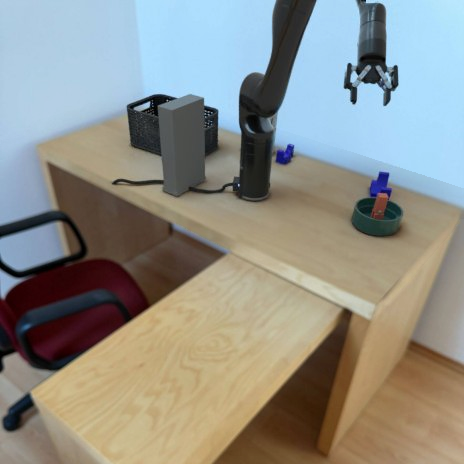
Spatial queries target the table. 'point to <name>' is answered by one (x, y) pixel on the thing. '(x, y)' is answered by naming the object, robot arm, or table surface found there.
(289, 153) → the cable holder
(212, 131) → the storage bin
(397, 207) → the bowl
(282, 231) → the table surface
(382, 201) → the clothespin
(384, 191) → the cable clip
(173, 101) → the tall grey upright pillar
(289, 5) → the robot arm
